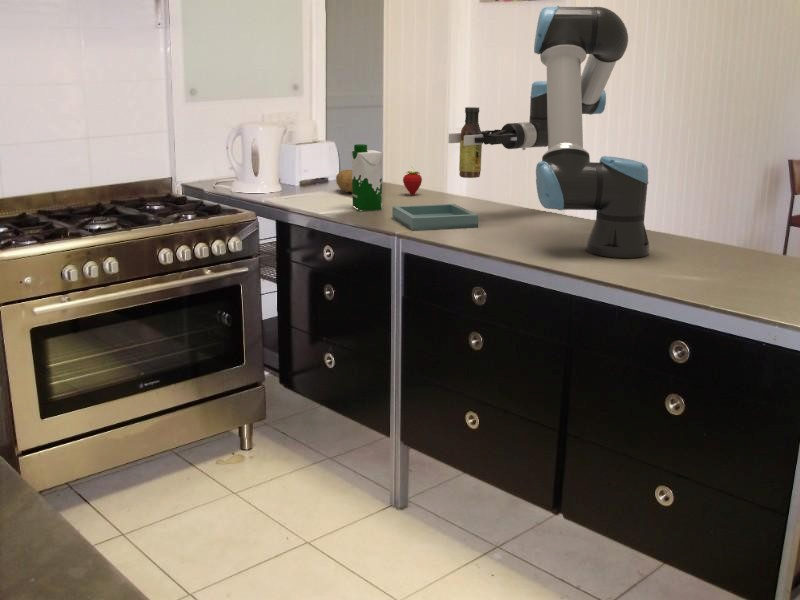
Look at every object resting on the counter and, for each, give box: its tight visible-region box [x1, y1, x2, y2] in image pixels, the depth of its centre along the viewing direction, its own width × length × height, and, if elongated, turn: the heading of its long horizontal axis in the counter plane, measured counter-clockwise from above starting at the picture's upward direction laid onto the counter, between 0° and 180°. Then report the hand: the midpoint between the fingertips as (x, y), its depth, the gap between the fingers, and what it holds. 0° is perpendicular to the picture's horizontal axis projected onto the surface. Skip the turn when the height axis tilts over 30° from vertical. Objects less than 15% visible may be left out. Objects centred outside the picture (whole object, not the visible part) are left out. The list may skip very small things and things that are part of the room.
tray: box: [391, 203, 479, 232], centre depth 252 cm, size 20×20×4 cm
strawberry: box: [402, 165, 423, 196], centre depth 299 cm, size 6×8×10 cm
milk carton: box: [350, 143, 384, 211], centre depth 271 cm, size 9×9×20 cm
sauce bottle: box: [458, 106, 483, 179], centre depth 249 cm, size 7×6×20 cm
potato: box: [336, 169, 352, 193], centre depth 304 cm, size 10×14×8 cm
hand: (456, 139), depth 246 cm, fingers closed on sauce bottle, 6 cm apart
